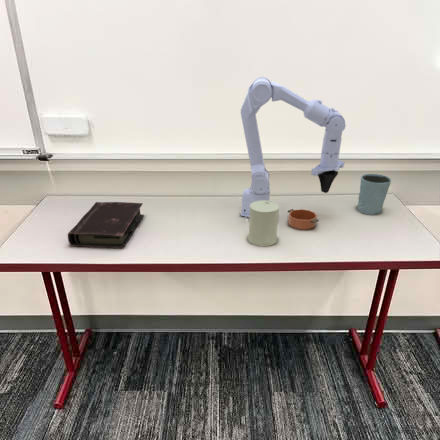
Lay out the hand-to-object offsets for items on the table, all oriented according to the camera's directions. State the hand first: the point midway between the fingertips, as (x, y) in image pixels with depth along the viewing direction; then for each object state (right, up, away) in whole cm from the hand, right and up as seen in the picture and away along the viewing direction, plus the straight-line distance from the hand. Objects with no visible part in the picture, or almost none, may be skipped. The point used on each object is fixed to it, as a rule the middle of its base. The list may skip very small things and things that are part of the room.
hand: (324, 191), depth 146 cm
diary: (-73, -14, -4) cm, 75 cm away
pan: (-8, -11, 0) cm, 14 cm away
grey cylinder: (+19, -4, +10) cm, 22 cm away
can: (-23, -18, -9) cm, 30 cm away
